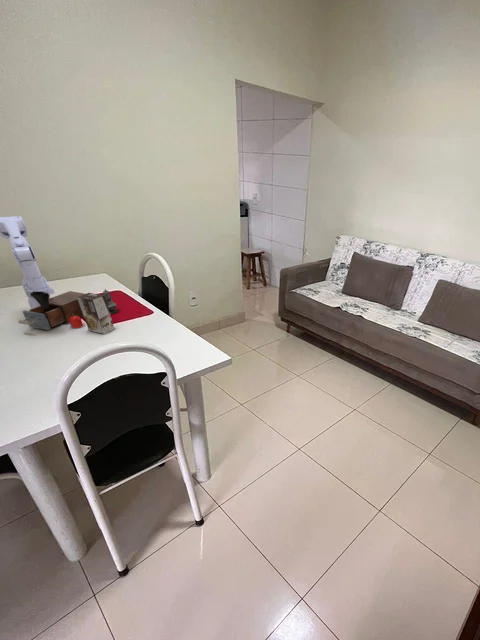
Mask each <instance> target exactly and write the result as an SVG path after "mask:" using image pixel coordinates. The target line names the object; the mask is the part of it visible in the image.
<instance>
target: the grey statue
mask: <svg viewBox="0 0 480 640" xmlns="http://www.w3.org/2000/svg"><path fill="white" fill-rule="evenodd" d="M102 295H104V296H105V299H106V303H107V306H108V309H109V312H110V315H112V314H117V313H118V311H119V310H118V309H117V303H115V302H114V301H113V299H112V296H111V293H110V291H109V290H107V289H106V288H104V290H103V291H102Z"/></svg>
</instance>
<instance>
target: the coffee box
mask: <svg viewBox="0 0 480 640" xmlns="http://www.w3.org/2000/svg"><path fill="white" fill-rule="evenodd" d="M77 299H78V302H79V304H80V307H81V310H82V312H83V315H84V317H83V318H84V321H85V322H86V326H87V329H88V331H90V332H94V333H99V334H103V335H105V334H106V333H109V332H110V331H113V330H115V326H114V323H113V319H112V316H111V314H110V312H109V309H108V306H107V303H106V299H105V296H104V295H103V294H99V293H93V292H87V293H84V295H82V296H79V297H77Z"/></svg>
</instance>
